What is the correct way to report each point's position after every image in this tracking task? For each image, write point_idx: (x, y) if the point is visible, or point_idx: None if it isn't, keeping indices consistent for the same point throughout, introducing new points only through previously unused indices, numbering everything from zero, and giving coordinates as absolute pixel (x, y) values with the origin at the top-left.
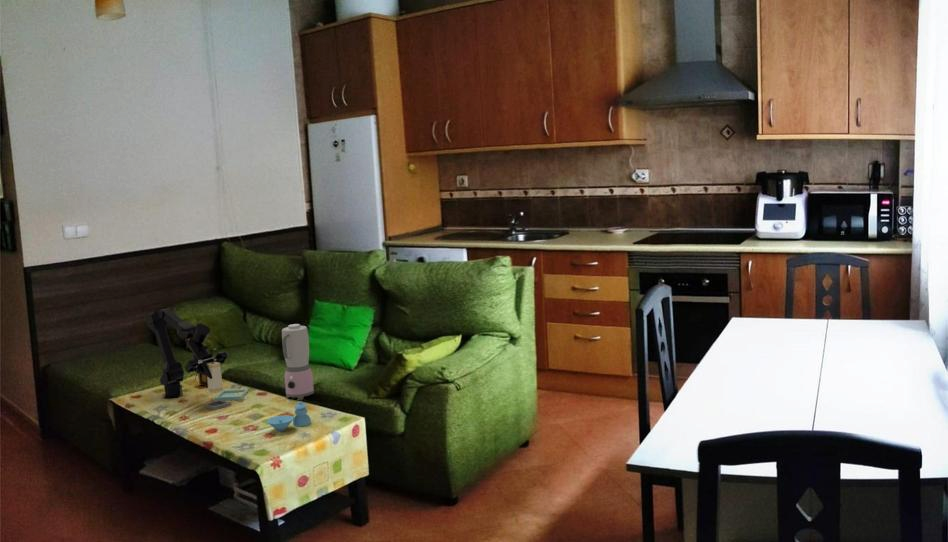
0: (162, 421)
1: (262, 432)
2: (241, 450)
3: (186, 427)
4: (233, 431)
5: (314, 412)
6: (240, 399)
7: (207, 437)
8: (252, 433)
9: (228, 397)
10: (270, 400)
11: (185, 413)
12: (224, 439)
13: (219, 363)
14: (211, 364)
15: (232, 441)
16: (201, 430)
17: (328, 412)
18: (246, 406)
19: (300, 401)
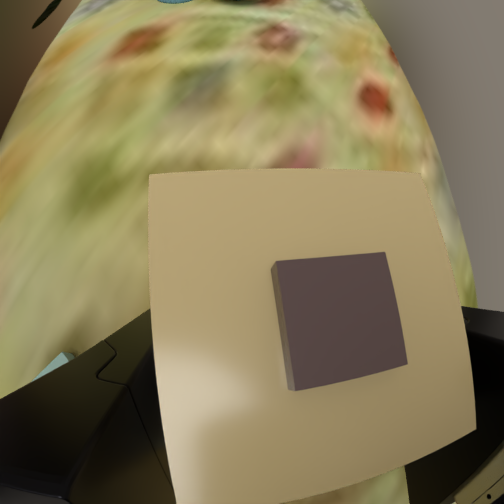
0: None
1: (274, 11)
2: (350, 3)
3: (435, 193)
4: (327, 53)
5: (92, 23)
6: (70, 356)
7: (395, 78)
8: (295, 20)
9: None
10: (14, 212)
11: None
12: (363, 43)
13: (178, 178)
14: (409, 247)
15: (351, 27)
16: (401, 126)
17: (82, 12)
18: (124, 223)
19: None
